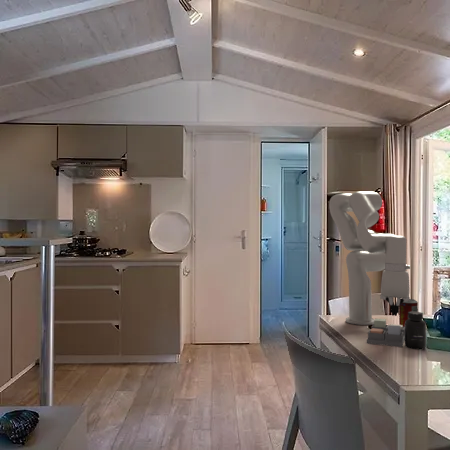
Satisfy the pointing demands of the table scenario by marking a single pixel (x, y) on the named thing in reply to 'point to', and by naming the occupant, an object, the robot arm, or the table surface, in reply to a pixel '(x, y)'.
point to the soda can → (407, 310)
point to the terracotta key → (376, 330)
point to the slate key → (394, 330)
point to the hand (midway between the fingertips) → (394, 314)
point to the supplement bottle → (415, 331)
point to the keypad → (386, 337)
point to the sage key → (380, 323)
